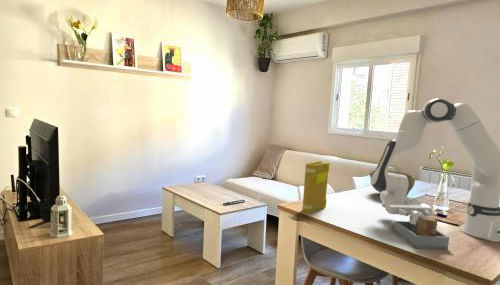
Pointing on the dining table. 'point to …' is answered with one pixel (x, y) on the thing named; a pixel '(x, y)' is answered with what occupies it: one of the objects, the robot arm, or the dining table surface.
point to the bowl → (410, 177)
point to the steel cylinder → (414, 220)
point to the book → (315, 186)
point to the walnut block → (426, 226)
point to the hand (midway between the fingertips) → (417, 214)
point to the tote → (421, 237)
